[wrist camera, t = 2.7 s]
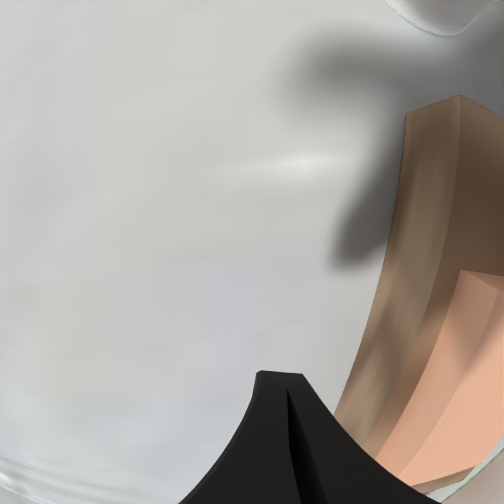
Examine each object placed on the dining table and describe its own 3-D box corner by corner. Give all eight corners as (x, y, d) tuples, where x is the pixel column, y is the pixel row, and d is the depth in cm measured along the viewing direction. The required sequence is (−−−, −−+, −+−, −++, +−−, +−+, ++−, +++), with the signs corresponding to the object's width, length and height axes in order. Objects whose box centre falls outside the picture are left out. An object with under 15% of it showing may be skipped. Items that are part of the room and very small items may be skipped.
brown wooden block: (443, 446, 15) (463, 480, 12) (311, 462, 15) (319, 511, 11) (542, 179, 11) (589, 186, 7) (406, 113, 10) (460, 95, 7)
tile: (466, 439, 10) (481, 463, 8) (374, 458, 10) (386, 491, 8) (542, 283, 8) (572, 298, 6) (460, 269, 8) (498, 290, 6)
